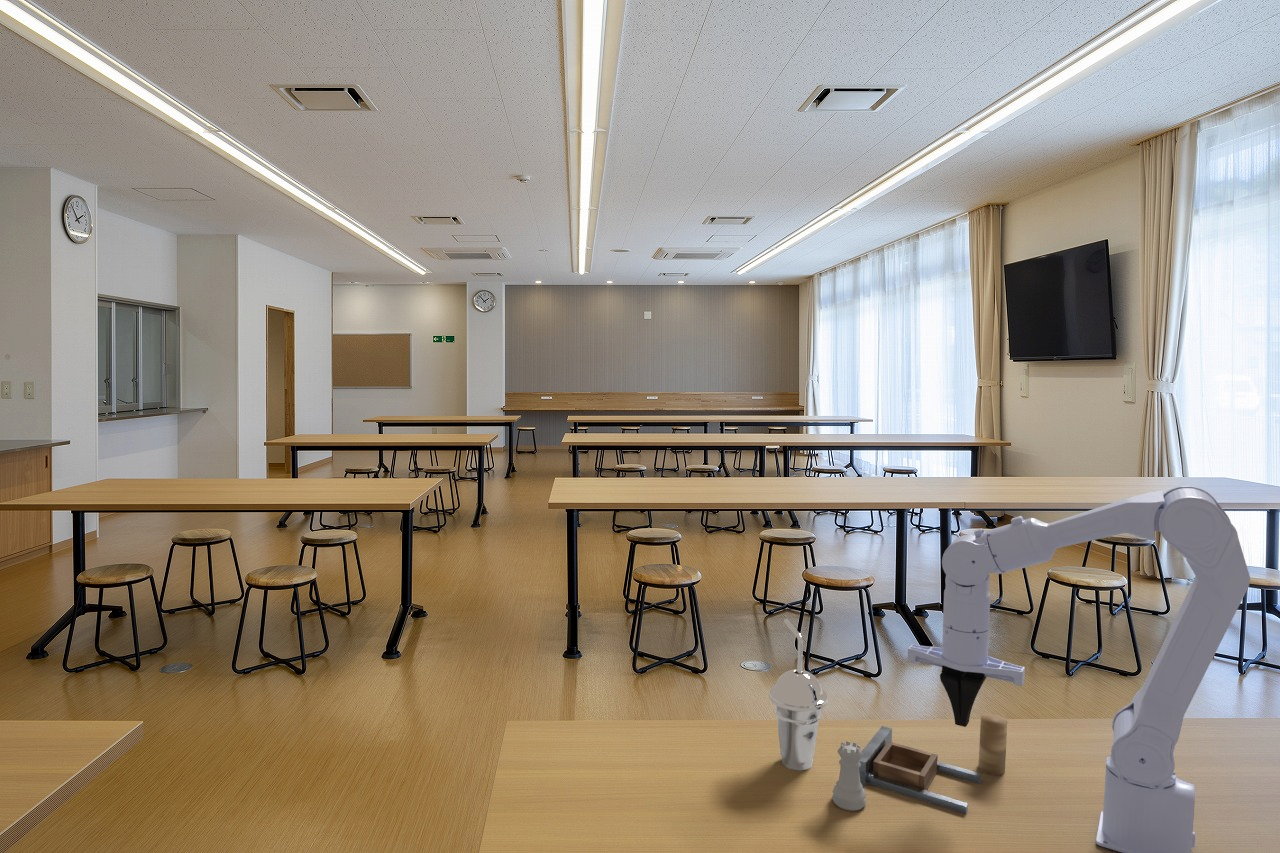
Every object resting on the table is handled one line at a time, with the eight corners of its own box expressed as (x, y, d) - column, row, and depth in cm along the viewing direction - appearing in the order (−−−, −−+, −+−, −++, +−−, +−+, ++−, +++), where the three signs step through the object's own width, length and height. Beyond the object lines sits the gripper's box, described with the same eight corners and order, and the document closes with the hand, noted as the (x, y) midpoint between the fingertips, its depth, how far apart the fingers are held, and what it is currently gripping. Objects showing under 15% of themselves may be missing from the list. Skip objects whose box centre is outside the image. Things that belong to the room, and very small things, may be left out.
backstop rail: (983, 777, 112) (984, 753, 112) (964, 818, 102) (965, 792, 102) (881, 747, 120) (882, 725, 120) (854, 783, 110) (855, 759, 110)
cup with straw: (765, 773, 113) (767, 637, 111) (770, 743, 121) (772, 616, 120) (826, 781, 111) (829, 643, 109) (826, 749, 119) (830, 621, 118)
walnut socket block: (937, 772, 113) (937, 754, 113) (923, 794, 107) (924, 776, 107) (888, 757, 117) (888, 741, 117) (872, 779, 111) (873, 761, 111)
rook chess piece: (867, 814, 103) (869, 755, 102) (832, 810, 104) (833, 752, 103) (865, 795, 107) (866, 739, 106) (831, 791, 108) (832, 735, 107)
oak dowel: (1006, 767, 115) (1009, 717, 114) (1002, 778, 112) (1004, 727, 111) (981, 760, 117) (983, 711, 116) (976, 770, 114) (978, 720, 113)
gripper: (1030, 627, 105) (1025, 725, 106) (918, 607, 113) (915, 699, 114) (1021, 643, 99) (1016, 747, 101) (904, 621, 107) (901, 717, 109)
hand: (962, 723), depth 107 cm, fingers closed
